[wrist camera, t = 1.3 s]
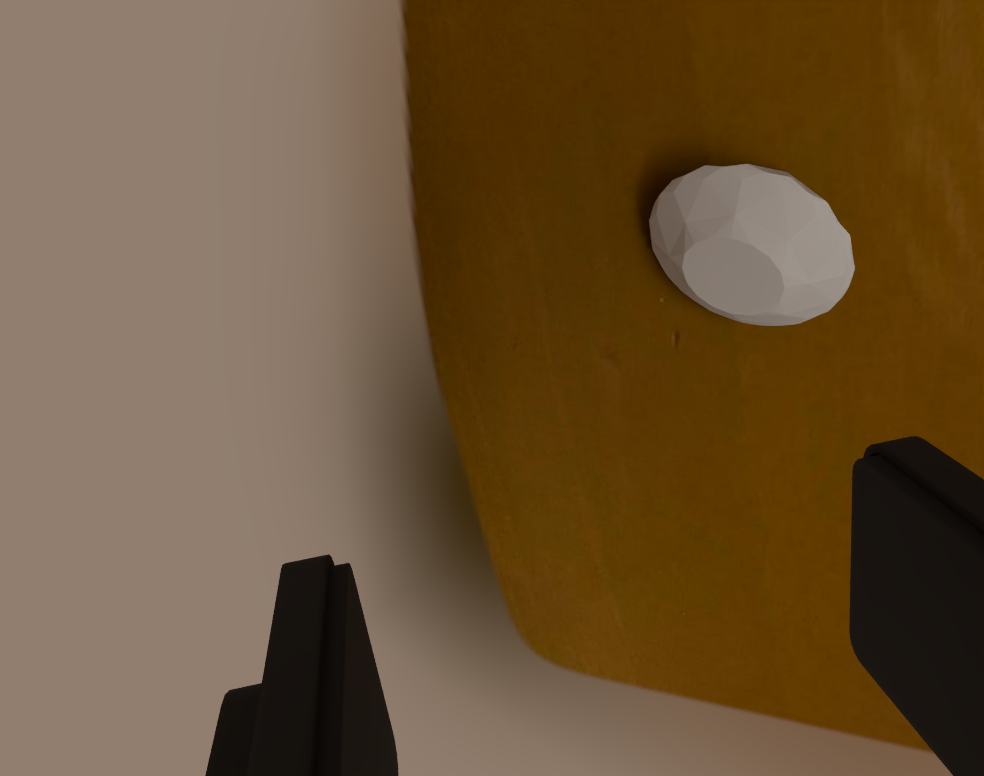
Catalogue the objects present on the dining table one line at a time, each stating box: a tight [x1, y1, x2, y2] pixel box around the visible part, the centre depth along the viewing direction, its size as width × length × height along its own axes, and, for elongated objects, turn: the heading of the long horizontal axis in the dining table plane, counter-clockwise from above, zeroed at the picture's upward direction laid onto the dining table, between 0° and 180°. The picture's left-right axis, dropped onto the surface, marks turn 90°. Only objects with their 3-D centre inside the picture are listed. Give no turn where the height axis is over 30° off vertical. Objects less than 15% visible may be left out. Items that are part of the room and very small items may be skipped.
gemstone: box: [649, 164, 855, 326], centre depth 26 cm, size 6×6×5 cm
